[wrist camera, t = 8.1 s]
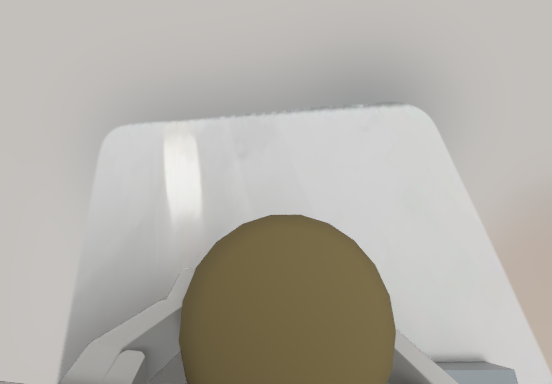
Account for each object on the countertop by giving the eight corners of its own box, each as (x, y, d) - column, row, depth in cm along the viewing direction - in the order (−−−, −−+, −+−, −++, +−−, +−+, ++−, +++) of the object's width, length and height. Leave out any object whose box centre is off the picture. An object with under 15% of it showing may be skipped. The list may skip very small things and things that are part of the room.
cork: (191, 309, 15) (63, 329, 5) (266, 234, 17) (287, 135, 7) (268, 396, 14) (314, 673, 4) (339, 304, 16) (498, 312, 6)
